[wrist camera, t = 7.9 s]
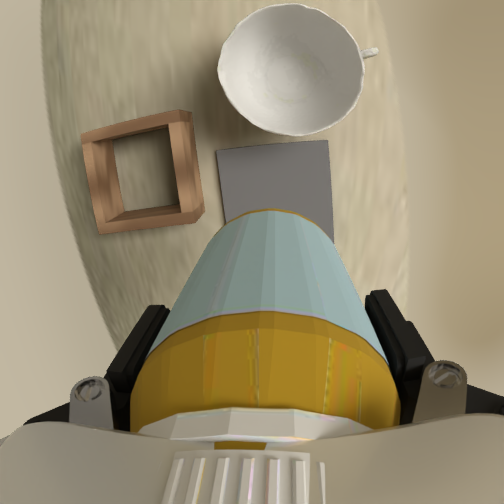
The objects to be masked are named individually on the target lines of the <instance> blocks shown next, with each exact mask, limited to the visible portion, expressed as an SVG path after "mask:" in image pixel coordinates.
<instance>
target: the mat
mask: <svg viewBox="0 0 504 504" xmlns="http://www.w3.org/2000/svg"><path fill="white" fill-rule="evenodd" d="M216 152H217V160H218V168H219V175H220V183H221V190H222V197H223V205H224V212H225V219H226V223H227V222H229V221H230V220H232V219H234V218H236V217H238V216H240V215H242V214H244V213H246V212H249V211H253V210H259V209H266V208H276V209H282V210H288V211H293V212H296V213H298V214H300V215H302V216H304V217H306V218H308V219H310V220H312V221H313V222H315V223H316V224H317V225H318V226H319V227H320V228H321V229H322V230H323V231H324V232H325V233H326V234H327V235H328V237H329V238H330V239H331V241H332V242H333V244H334V229H333V207H332V189H331V174H330V160H329V148H328V140H320V141H304V142H291V143H279V144H268V145H258V146H249V147H240V148H232V149H224V150H217V151H216Z"/></svg>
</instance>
